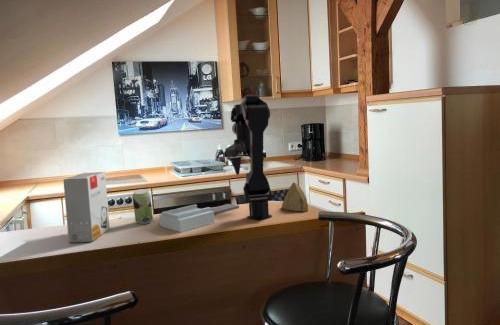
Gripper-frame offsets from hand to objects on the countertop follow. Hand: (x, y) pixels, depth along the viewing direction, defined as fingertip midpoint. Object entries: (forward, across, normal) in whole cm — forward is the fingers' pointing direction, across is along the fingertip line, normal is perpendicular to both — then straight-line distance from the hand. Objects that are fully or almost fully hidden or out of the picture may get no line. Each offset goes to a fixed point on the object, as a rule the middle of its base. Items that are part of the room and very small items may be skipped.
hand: (245, 175), depth 167 cm
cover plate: (+13, -2, -14) cm, 19 cm away
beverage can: (+12, -11, -40) cm, 44 cm away
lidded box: (+12, +4, -33) cm, 35 cm away
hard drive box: (+12, -13, -60) cm, 62 cm away
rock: (+12, +21, +4) cm, 25 cm away
